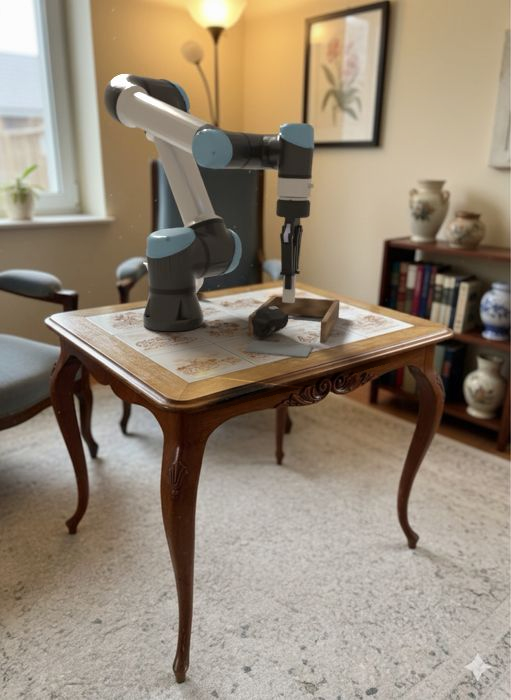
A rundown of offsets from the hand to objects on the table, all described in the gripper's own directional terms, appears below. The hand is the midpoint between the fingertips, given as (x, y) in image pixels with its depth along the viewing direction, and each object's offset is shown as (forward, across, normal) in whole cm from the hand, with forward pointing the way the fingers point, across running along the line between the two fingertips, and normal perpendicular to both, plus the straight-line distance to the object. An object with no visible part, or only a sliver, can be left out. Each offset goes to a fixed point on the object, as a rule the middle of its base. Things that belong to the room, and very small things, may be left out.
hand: (288, 301), depth 127 cm
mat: (+8, -12, -1) cm, 14 cm away
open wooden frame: (+8, +8, -1) cm, 11 cm away
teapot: (+10, +30, +44) cm, 54 cm away
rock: (+8, -7, +5) cm, 12 cm away
